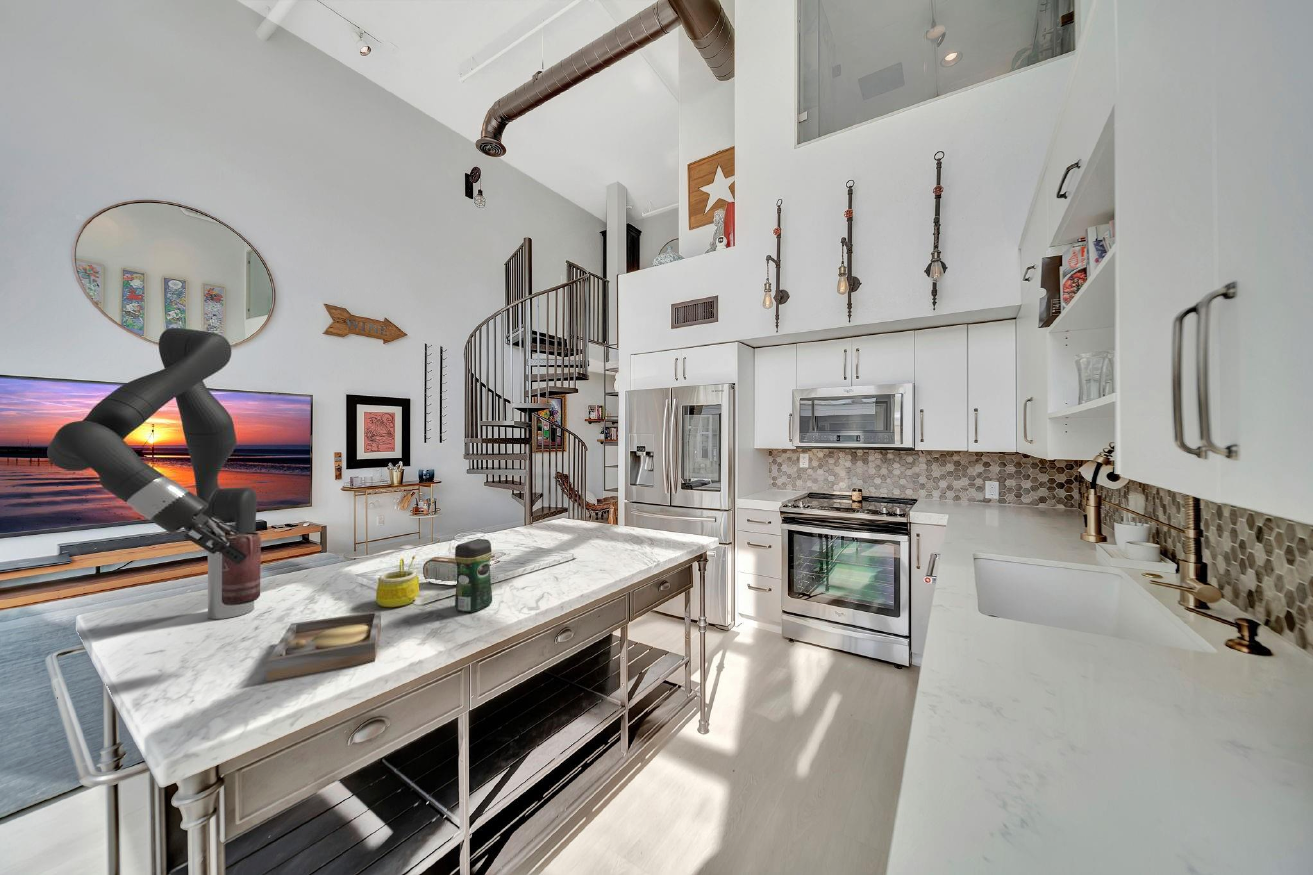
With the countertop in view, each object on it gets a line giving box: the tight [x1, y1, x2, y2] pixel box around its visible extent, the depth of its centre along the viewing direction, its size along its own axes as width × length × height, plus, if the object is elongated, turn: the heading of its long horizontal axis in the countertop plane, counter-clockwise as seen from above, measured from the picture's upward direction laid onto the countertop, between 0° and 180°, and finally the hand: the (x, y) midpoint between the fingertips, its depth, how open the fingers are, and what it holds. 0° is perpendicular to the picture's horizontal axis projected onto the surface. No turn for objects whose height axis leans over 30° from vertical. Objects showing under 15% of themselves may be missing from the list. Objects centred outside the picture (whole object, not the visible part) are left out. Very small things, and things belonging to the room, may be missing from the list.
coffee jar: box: [454, 538, 493, 613], centre depth 131 cm, size 10×8×19 cm
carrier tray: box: [266, 610, 382, 682], centre depth 104 cm, size 20×18×5 cm
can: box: [222, 532, 262, 605], centre depth 99 cm, size 6×6×14 cm
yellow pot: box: [375, 555, 420, 608], centre depth 135 cm, size 13×11×12 cm
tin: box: [422, 556, 457, 582], centre depth 150 cm, size 15×3×8 cm, turn 77°
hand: (246, 556), depth 100 cm, fingers closed on can, 6 cm apart
